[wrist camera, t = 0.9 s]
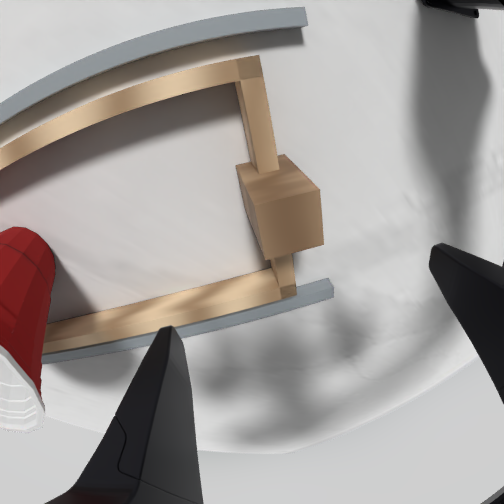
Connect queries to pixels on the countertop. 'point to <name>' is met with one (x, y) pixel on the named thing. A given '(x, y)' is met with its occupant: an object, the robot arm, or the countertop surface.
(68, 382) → the countertop surface
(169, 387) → the robot arm
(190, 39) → the lane rails
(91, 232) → the countertop surface
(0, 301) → the plastic cup
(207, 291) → the wooden rectangular frame
